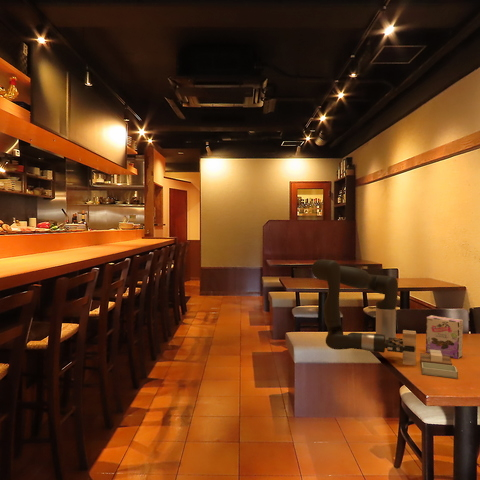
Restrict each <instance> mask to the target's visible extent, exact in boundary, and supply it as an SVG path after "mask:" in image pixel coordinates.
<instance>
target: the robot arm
mask: <svg viewBox="0 0 480 480" xmlns="http://www.w3.org/2000/svg"><path fill="white" fill-rule="evenodd" d="M311 274H312V275H313V276H314V277H315V278H316V279H317V280H320V281H325V282H327V286H328V288H327V289H328V291H327V297H326V298H325V301H324V303H323V318H324V324H325V326H326V328H327V335H326V337H325V344H326V345H327V347H328V348H330V349H332V350H349V349H354V350H361V351H362V350H363V351H366V352H375V353H385V351H386V350H387V352H390V353H391V352H392V353H401V354H403V352H405V351H408V352H415V347H414V346H406V345H403V337H402V338H398V337H397V336H396V335H397V334H396V331H397V328H396V327H397V326H396V325H397V323H396V320H397V319H396V318H397V311H396V310H397V303H398V294H399V293H398V292H399V282H398V280H397V278H396V277H395V276H390V275H383V274H382V275H381V274H380V275H377V274H370V273H369V272H367V270H365V269H362V268H358V267H354V266H348V265H347V266H346V265H340V264H339V262H338V261H336V260H333V259H323V258H322V259H318V260H316V261H314V262H313V264H312V265H311ZM341 285H345V286H348V287H351V288H355V289H361V290H362V289H366V290H369V291H372V292H375V293H376V294H380V295H384V297H383V299H382V300H379V301H376V303H375V333H370V332H368V333H367V332H365V333H364V332H353V331H352V332H349V333H348V334H344V329H343V325H342V321H341V319H342V317H341V310H340V293H341V292H340V289H341Z"/></svg>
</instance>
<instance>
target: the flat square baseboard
mask: <svg viewBox="0 0 480 480" xmlns="http://www.w3.org/2000/svg"><path fill="white" fill-rule="evenodd" d="M422 362H426V363H435V364H444V365H452V366H453V362H452V360H451V357H450V356H443V355H442V362H433V361H431V358H430V353H421V352H420V368H421V369H422Z"/></svg>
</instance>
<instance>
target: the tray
mask: <svg viewBox="0 0 480 480" xmlns="http://www.w3.org/2000/svg"><path fill="white" fill-rule="evenodd" d="M421 374H422V376H423V375H425V376H433V377H439V378H440V377H441V378H448V379H458V377H459V375H458V374H459V371H458V370H457V367H456V365H453V364H452V365H444V364H435V363H426V362H422V368H421Z"/></svg>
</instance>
